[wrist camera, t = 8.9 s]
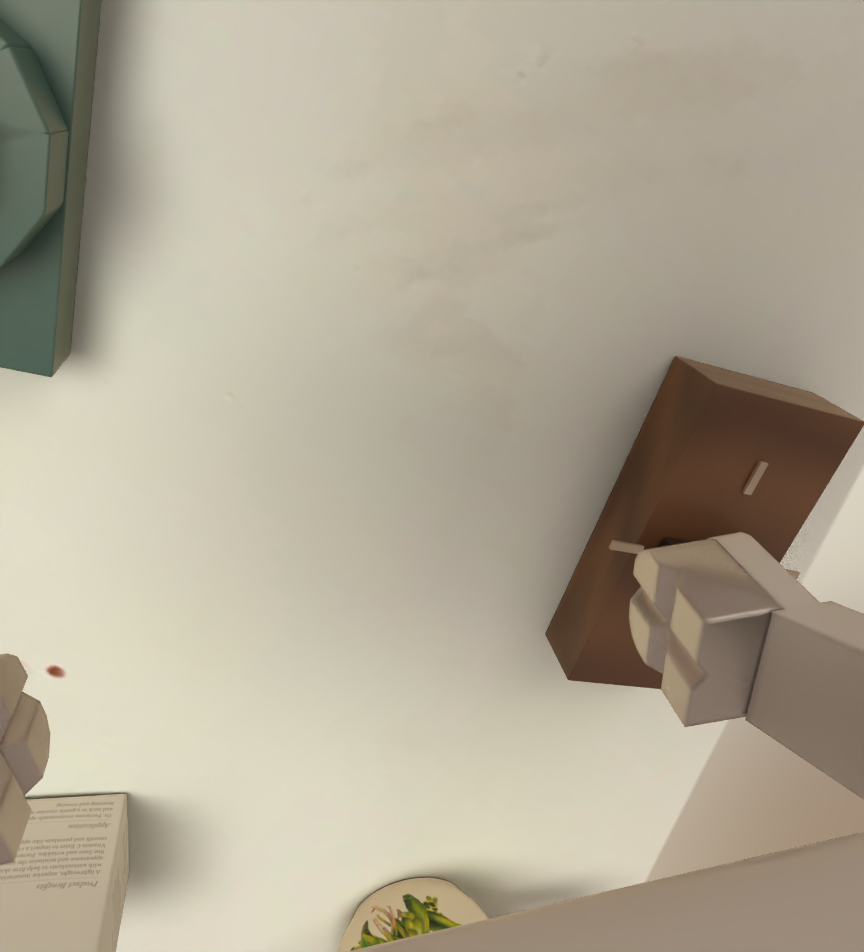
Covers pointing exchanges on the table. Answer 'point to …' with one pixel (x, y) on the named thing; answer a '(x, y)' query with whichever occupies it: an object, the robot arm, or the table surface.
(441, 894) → the pitcher
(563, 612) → the dial panel
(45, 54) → the button block
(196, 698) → the table surface
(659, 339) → the table surface
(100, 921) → the product carton
